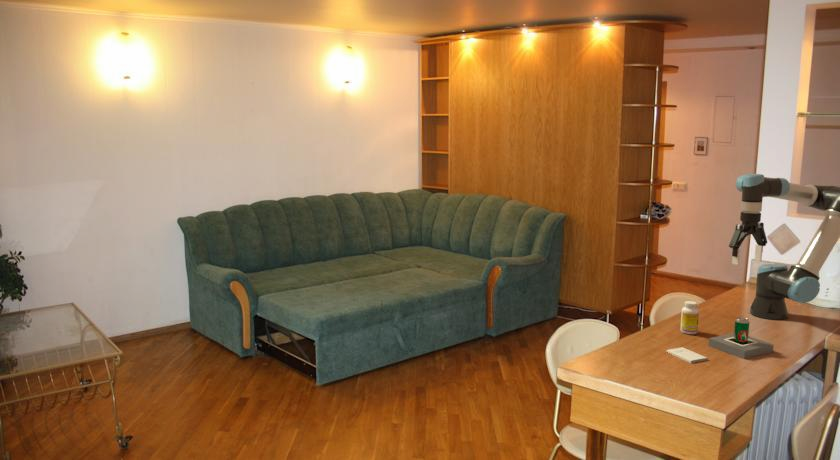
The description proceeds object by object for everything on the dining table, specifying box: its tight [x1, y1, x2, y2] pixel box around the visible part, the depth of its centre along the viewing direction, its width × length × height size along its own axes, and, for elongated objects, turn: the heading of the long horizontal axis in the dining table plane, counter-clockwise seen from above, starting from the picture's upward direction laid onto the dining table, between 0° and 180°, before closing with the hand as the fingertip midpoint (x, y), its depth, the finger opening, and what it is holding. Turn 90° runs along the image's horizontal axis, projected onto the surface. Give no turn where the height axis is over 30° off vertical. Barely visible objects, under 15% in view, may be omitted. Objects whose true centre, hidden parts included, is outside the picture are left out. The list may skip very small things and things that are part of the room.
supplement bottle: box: [680, 300, 700, 335], centre depth 272 cm, size 7×7×13 cm
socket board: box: [708, 332, 775, 360], centre depth 253 cm, size 16×16×3 cm
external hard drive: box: [665, 346, 709, 364], centre depth 246 cm, size 2×8×12 cm
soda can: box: [733, 316, 750, 345], centre depth 253 cm, size 5×5×12 cm
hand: (746, 262), depth 272 cm, fingers open, 13 cm apart
